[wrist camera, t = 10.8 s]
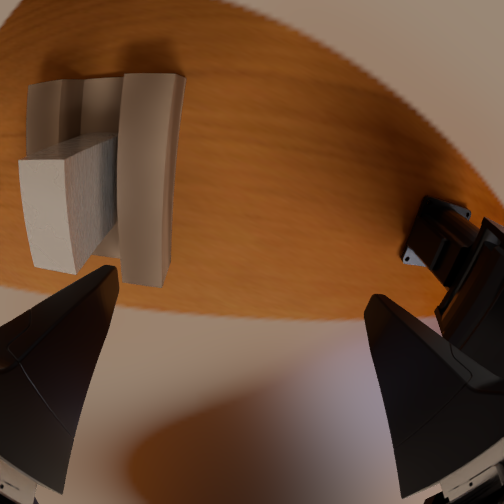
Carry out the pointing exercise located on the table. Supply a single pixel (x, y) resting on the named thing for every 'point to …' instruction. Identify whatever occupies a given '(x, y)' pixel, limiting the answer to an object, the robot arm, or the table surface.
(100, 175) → the brushed metal bar
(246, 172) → the table surface
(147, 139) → the grey u-channel
